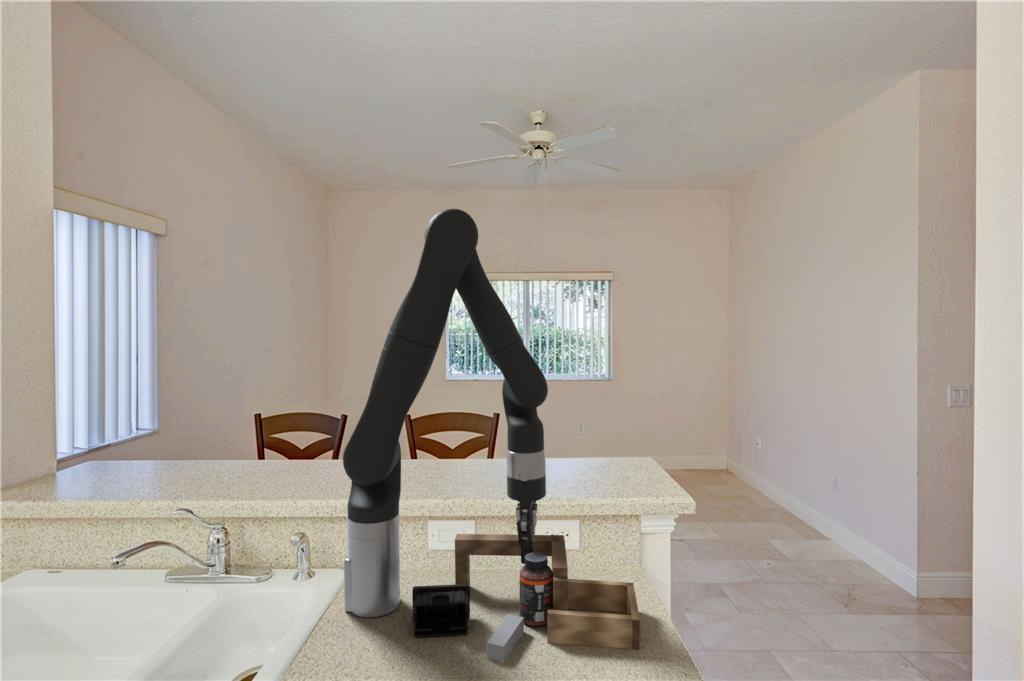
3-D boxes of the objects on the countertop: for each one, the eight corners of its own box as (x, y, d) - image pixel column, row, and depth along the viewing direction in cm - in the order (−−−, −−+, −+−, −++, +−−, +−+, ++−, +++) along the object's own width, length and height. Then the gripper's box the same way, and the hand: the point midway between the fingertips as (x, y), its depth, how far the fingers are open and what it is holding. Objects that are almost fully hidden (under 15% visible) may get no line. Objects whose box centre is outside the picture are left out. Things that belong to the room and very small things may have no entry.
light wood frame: (547, 642, 94) (547, 613, 94) (551, 603, 107) (551, 577, 106) (639, 649, 92) (639, 619, 92) (632, 609, 105) (633, 582, 104)
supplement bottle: (549, 630, 98) (548, 565, 97) (515, 625, 99) (515, 562, 99) (556, 612, 103) (555, 551, 103) (524, 608, 105) (523, 548, 104)
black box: (469, 613, 103) (469, 577, 103) (470, 636, 96) (470, 597, 96) (413, 616, 102) (413, 579, 102) (410, 639, 95) (410, 600, 95)
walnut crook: (444, 629, 98) (443, 570, 97) (457, 585, 113) (456, 533, 113) (568, 631, 97) (568, 572, 96) (564, 587, 112) (564, 535, 112)
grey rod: (508, 629, 99) (508, 614, 98) (523, 633, 98) (523, 617, 97) (487, 659, 90) (487, 642, 90) (503, 663, 89) (503, 646, 89)
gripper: (511, 461, 117) (512, 543, 118) (502, 483, 103) (503, 575, 104) (547, 462, 116) (548, 544, 117) (543, 484, 102) (544, 577, 103)
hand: (527, 558), depth 111 cm, fingers closed on walnut crook, 3 cm apart
